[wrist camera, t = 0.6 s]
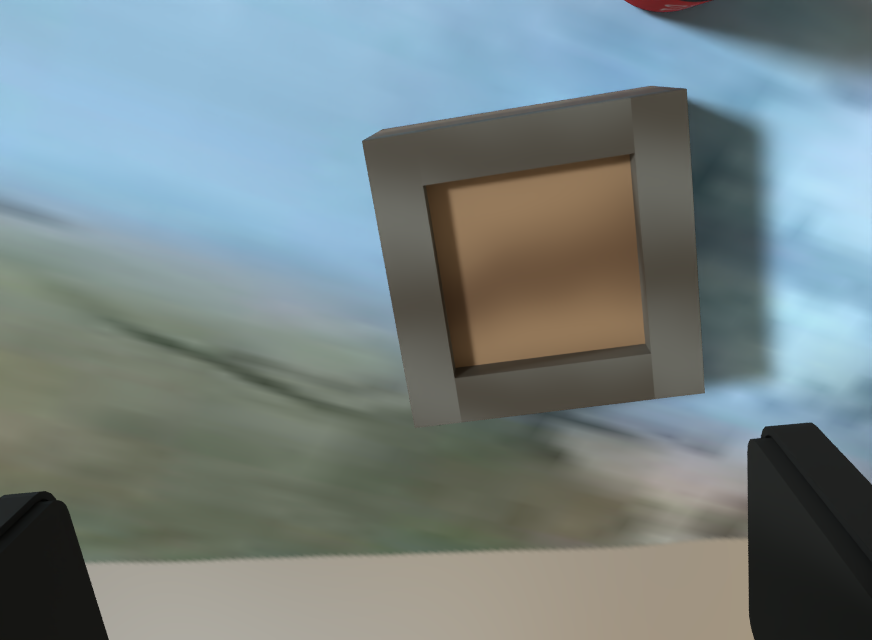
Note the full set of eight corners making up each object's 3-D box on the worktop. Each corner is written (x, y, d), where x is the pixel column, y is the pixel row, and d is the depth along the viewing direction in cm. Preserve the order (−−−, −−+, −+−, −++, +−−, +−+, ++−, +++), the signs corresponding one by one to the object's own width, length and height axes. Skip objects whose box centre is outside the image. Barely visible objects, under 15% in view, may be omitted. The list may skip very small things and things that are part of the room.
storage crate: (382, 129, 35) (362, 140, 29) (650, 85, 34) (686, 88, 28) (425, 373, 38) (414, 427, 32) (669, 342, 37) (704, 393, 31)
